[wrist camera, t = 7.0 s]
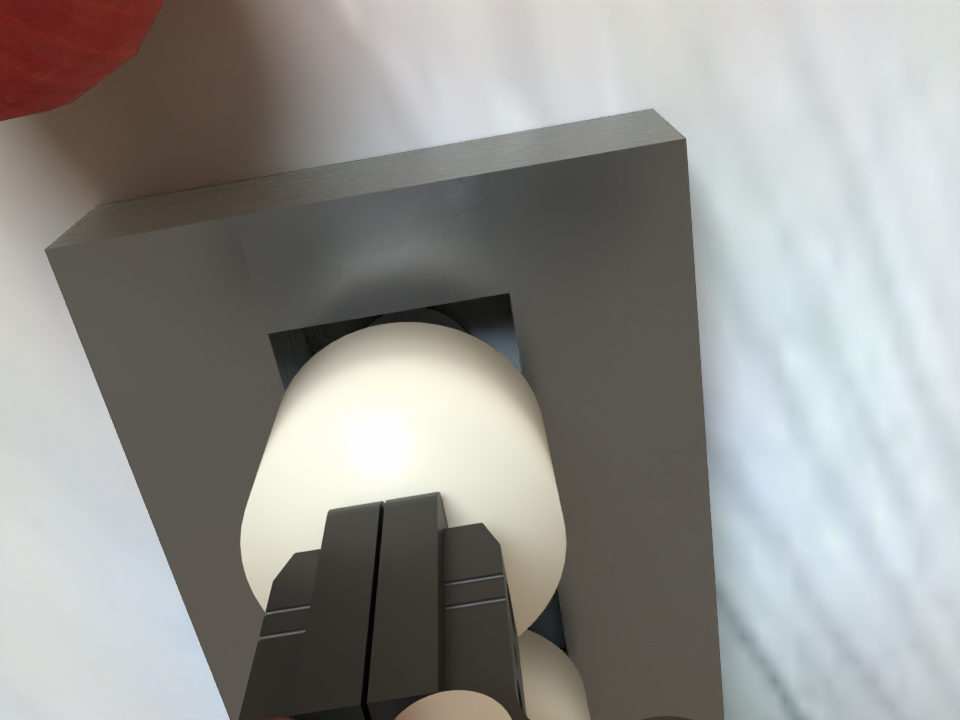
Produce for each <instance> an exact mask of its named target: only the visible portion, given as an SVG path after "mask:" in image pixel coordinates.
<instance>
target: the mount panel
mask: <svg viewBox="0 0 960 720" xmlns="http://www.w3.org/2000/svg"><path fill="white" fill-rule="evenodd" d="M45 252H46V254H47V257H48V259H49V262H50V265H51V267H52V270H53V272H54V275H55V277H56V280H57V282H58V285H59V287H60V290H61V292H62V295H63V297H64V300H65V303H66V305H67V308H68V310H69V313H70V315H71V318H72V320H73V323H74V325H75V328H76V330H77V333H78V335H79V338H80V341H81V343H82V346H83V348H84V351H85V353H86V356H87V358H88V361H89V363H90V366H91V368H92V371H93V373H94V376H95V379H96V381H97V384H98V386H99V389H100V391H101V394H102V396H103V399H104V401H105V404H106V406H107V409H108V412H109V414H110V417H111V419H112V422H113V424H114V427H115V429H116V432H117V434H118V437H119V439H120V442H121V444H122V447H123V450H124V452H125V455H126V457H127V460H128V462H129V465H130V467H131V470H132V472H133V475H134V477H135V480H136V482H137V485H138V488H139V490H140V493H141V495H142V498H143V500H144V503H145V505H146V508H147V510H148V513H149V515H150V518H151V520H152V523H153V526H154V528H155V531H156V533H157V536H158V538H159V541H160V543H161V546H162V548H163V551H164V553H165V556H166V558H167V561H168V564H169V566H170V569H171V571H172V574H173V576H174V579H175V581H176V584H177V586H178V589H179V591H180V594H181V596H182V599H183V602H184V604H185V607H186V609H187V612H188V614H189V617H190V619H191V622H192V624H193V627H194V629H195V632H196V634H197V637H198V640H199V642H200V645H201V647H202V650H203V652H204V655H205V657H206V660H207V662H208V665H209V667H210V670H211V672H212V675H213V678H214V680H215V683H216V685H217V688H218V690H219V693H220V695H221V698H222V700H223V703H224V705H225V708H226V710H227V713H228V716H229V718H230V720H239V715H240V711H241V707H242V703H243V699H244V695H245V691H246V687H247V683H248V679H249V675H250V671H251V667H252V663H253V659H254V655H255V651H256V647H257V643H258V641H260V631H261V627H262V623H263V619H264V616H266V612H265V611H264V610H263V608H262V607H261V605H260V604H259V602H258V600H257V599H256V597H255V596H254V594H253V592H252V589H251V587H250V585H249V583H248V580H247V578H246V574H245V571H244V567H243V563H242V556H241V546H240V540H241V526H242V521H243V517H244V513H245V509H246V506H247V503H248V500H249V497H250V494H251V490H252V487H253V484H254V481H255V478H256V475H257V472H258V469H259V466H260V463H261V460H262V457H263V454H264V451H265V448H266V445H267V442H268V439H269V436H270V433H271V430H272V427H273V424H274V421H275V418H276V415H277V412H278V409H279V406H280V403H281V401H282V398H283V396H284V394H285V391H286V390H287V388H288V386H289V385H290V383H291V381H292V379H293V378H294V377H295V375H296V374H297V373H298V372H299V370H300V369H301V368H302V367H303V365H304V364H305V363H306V362H308V361H309V360H310V359H311V357H310V353H309V350H308V346H307V342H306V339H305V335H304V331H303V328H305V327H311V326H316V325H322V324H328V323H334V322H340V321H346V320H352V319H358V318H364V317H370V316H376V315H382V314H388V313H394V312H399V311H405V310H411V309H417V308H423V307H429V306H435V305H441V304H447V303H453V302H459V301H465V300H471V299H477V298H482V297H488V296H494V295H500V294H506V293H509V299H510V305H511V311H512V317H513V323H514V330H515V336H516V342H517V348H518V354H519V360H520V366H521V373H522V375H523V377H524V378H525V379H526V380H527V382H528V384H529V386H530V387H531V389H532V391H533V392H534V394H535V397H536V399H537V402H538V404H539V407H540V409H541V414H542V418H543V422H544V427H545V432H546V436H547V441H548V446H549V451H550V456H551V461H552V466H553V470H554V475H555V480H556V485H557V490H558V495H559V500H560V504H561V509H562V514H563V519H564V524H565V531H566V555H565V563H564V567H563V571H562V575H561V579H560V581H559V583H558V586H557V594H558V600H559V606H560V612H561V618H562V624H563V630H564V637H565V643H566V649H562V651H563V652H564V653H565V654H566V655H567V656H568V657H569V658H570V659H571V661H572V662H573V664H574V665H575V667H576V668H577V670H578V672H579V674H580V676H581V678H582V681H583V684H584V688H585V692H586V698H587V703H588V708H589V714H590V719H591V720H642V719H646V718H651V717H658V716H674V717H683V718H687V719H692V720H724V711H723V696H722V680H721V665H720V650H719V635H718V619H717V604H716V589H715V573H714V558H713V543H712V528H711V512H710V497H709V482H708V467H707V451H706V436H705V421H704V405H703V390H702V375H701V360H700V344H699V329H698V314H697V299H696V283H695V268H694V253H693V237H692V222H691V207H690V192H689V176H688V161H687V146H686V138H685V137H684V136H683V135H682V134H681V133H679V132H678V131H677V130H676V129H675V128H674V127H673V126H672V125H670V124H669V123H668V122H667V121H666V120H665V119H664V118H663V117H661V116H660V115H659V114H658V113H657V112H656V111H655V110H654V109H648V110H642V111H637V112H631V113H625V114H620V115H614V116H608V117H602V118H597V119H591V120H585V121H580V122H574V123H568V124H562V125H557V126H551V127H545V128H540V129H534V130H528V131H522V132H517V133H511V134H505V135H500V136H494V137H488V138H482V139H477V140H471V141H465V142H460V143H454V144H448V145H442V146H437V147H431V148H425V149H420V150H414V151H408V152H402V153H397V154H391V155H385V156H380V157H374V158H368V159H362V160H357V161H351V162H345V163H340V164H334V165H328V166H322V167H317V168H311V169H305V170H300V171H294V172H288V173H282V174H277V175H271V176H265V177H260V178H254V179H248V180H242V181H237V182H231V183H225V184H220V185H214V186H208V187H202V188H197V189H191V190H185V191H180V192H174V193H168V194H162V195H157V196H151V197H145V198H140V199H134V200H128V201H122V202H117V203H111V204H105V205H100V206H96V207H95V208H94V209H93V210H92V211H90V212H89V213H88V214H87V215H86V216H84V217H83V218H82V219H81V220H80V221H78V222H77V223H76V224H75V225H74V226H72V227H71V228H70V229H69V230H68V231H66V232H65V233H64V234H63V235H62V236H60V237H59V238H58V239H57V240H56V241H54V242H53V243H52V244H51V245H50V246H48V247H47V248H46V249H45Z"/></svg>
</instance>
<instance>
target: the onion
mask: <svg viewBox="0 0 960 720" xmlns="http://www.w3.org/2000/svg"><path fill="white" fill-rule="evenodd" d="M164 1H165V0H0V121H3V120H8V119H12V118H17V117H21V116H26V115H30V114H35V113H39V112H44V111H48V110H52V109H55V108H58V107H60V106H63V105H66V104H69V103H72V102H73V101H75V100H76V99H77V98H79V97H80V96H81V95H83V94H84V93H85V92H87V91H88V90H89V89H91V88H92V87H93V86H95V85H96V84H97V83H99V82H100V81H101V80H103V79H104V78H105V77H107V76H108V75H109V74H111V73H112V72H113V71H115V70H116V69H117V68H119V67H120V66H121V65H123V64H124V63H125V62H127V61H128V60H129V59H131V58H132V57H133V56H135V55H136V53H137V51H138V50H139V48H140V46H141V44H142V42H143V40H144V38H145V36H146V34H147V32H148V30H149V28H150V26H151V24H152V22H153V20H154V18H155V17H156V15H157V13H158V11H159V10H160V8H161V6H162V4H163V3H164Z"/></svg>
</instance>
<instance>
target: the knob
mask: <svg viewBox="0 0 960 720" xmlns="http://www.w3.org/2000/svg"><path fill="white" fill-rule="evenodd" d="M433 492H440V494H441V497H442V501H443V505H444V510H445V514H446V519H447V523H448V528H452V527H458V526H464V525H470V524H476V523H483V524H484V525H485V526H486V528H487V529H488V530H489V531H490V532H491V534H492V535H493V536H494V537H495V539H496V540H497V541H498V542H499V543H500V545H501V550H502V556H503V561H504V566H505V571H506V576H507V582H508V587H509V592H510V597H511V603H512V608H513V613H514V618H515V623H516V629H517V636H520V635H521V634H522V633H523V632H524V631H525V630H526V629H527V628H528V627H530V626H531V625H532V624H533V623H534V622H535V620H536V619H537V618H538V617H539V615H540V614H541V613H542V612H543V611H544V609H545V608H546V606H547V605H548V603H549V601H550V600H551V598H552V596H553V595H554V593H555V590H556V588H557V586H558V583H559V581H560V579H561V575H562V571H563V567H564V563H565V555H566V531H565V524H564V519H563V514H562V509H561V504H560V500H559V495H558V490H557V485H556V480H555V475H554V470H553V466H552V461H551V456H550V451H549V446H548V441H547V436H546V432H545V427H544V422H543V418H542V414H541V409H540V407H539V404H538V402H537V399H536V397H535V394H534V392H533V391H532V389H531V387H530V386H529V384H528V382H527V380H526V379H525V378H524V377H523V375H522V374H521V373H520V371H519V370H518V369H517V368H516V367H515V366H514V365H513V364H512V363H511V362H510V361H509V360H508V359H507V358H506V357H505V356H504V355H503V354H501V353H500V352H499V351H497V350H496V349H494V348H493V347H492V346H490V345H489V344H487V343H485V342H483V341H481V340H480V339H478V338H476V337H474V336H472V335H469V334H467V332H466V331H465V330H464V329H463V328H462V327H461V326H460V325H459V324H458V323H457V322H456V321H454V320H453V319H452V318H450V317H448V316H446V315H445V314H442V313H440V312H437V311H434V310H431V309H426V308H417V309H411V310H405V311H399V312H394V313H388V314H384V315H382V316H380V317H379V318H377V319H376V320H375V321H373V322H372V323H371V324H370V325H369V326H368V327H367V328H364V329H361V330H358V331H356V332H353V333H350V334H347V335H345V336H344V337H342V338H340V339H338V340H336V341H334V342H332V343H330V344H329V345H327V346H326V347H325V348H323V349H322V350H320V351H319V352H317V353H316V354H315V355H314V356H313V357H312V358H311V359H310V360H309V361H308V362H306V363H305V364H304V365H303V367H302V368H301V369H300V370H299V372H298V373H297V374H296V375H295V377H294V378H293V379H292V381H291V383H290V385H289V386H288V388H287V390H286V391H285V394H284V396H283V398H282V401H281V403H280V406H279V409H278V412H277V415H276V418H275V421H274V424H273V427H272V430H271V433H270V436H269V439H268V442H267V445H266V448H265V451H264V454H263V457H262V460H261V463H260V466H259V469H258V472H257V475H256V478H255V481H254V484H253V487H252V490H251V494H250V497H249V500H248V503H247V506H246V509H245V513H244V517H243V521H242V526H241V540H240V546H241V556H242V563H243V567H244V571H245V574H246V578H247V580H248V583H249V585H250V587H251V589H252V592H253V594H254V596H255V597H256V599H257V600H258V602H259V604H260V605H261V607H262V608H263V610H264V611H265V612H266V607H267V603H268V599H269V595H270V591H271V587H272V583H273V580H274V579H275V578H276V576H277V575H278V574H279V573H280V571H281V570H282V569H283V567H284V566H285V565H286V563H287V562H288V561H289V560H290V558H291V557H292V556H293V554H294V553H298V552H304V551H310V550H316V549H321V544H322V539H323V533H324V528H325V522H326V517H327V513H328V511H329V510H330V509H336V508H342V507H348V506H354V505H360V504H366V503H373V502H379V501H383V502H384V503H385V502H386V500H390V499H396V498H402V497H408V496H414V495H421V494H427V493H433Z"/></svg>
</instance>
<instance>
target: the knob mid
mask: <svg viewBox="0 0 960 720" xmlns="http://www.w3.org/2000/svg"><path fill="white" fill-rule="evenodd" d="M518 644H519V653H520V664H521V671H522V680H523V690H524V698H525V707H526V715H527V717H528V718H529V719H530V720H591V719H590V714H589V708H588V703H587V698H586V692H585V688H584V684H583V681H582V678H581V676H580V674H579V672H578V670H577V668H576V667H575V665H574V664H573V662H572V661H571V659H570V658H569V657H568V656H567V655H566V654H565V653H564V652H563V651H562V650H561V649H560V648H558V647H557V646H556V645H555V644H554V643H552V642H551V641H549V640H547V639H546V638H544V637H542V636H541V635H539V634H536V633H534V632H532V631H530V630H527V629H526V630H525V631H524V632H523V633H522V634H521V635H520V636H518Z"/></svg>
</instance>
